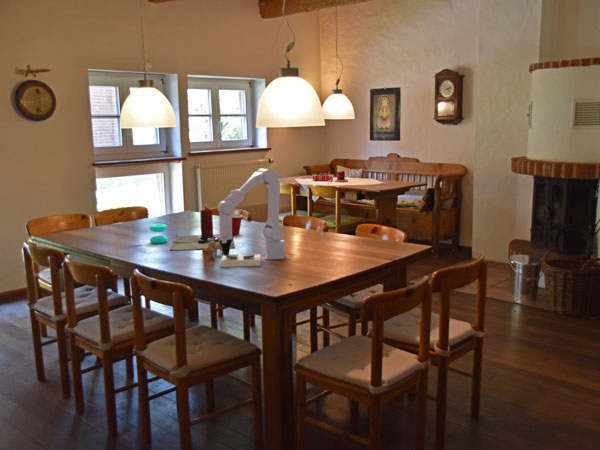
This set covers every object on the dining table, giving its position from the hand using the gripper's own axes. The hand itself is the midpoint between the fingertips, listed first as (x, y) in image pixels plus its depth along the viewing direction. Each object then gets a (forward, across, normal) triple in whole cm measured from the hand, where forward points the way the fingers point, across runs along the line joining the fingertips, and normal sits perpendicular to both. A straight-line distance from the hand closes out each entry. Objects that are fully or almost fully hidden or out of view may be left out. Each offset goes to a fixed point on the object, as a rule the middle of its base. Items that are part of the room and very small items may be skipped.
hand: (226, 255), depth 266 cm
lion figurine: (+5, -18, -7) cm, 20 cm away
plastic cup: (+4, -76, -3) cm, 76 cm away
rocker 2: (+1, 0, +11) cm, 11 cm away
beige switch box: (+4, -2, +7) cm, 8 cm away
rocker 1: (+1, 0, +3) cm, 3 cm away
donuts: (+5, -57, -44) cm, 72 cm away
